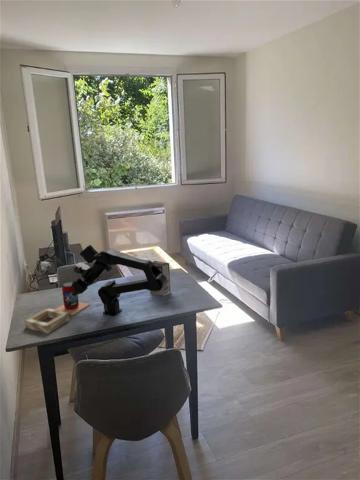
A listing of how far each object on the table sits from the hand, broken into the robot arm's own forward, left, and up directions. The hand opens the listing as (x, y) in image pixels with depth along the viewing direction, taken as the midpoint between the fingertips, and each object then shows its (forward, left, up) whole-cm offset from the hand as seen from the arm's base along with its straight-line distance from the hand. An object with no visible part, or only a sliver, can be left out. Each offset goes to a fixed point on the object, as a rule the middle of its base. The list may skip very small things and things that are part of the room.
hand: (77, 291), depth 169 cm
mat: (+4, +1, -9) cm, 10 cm away
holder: (+3, +17, -9) cm, 19 cm away
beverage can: (+4, +1, -9) cm, 10 cm away
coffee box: (-27, -31, -9) cm, 42 cm away
